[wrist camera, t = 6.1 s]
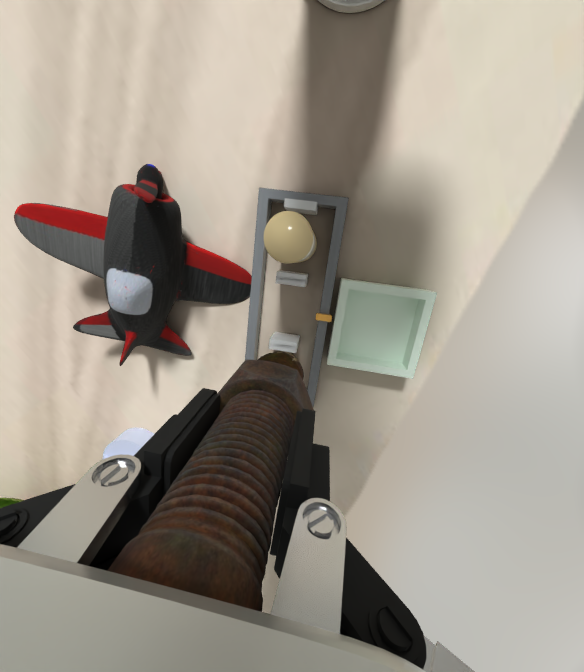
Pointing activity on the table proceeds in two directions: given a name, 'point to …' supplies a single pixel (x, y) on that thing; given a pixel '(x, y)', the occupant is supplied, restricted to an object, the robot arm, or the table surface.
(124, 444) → the wedge on round base
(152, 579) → the bolt
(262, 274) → the block
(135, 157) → the table surface
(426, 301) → the tray
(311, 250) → the ball
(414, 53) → the table surface
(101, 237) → the toy airplane
